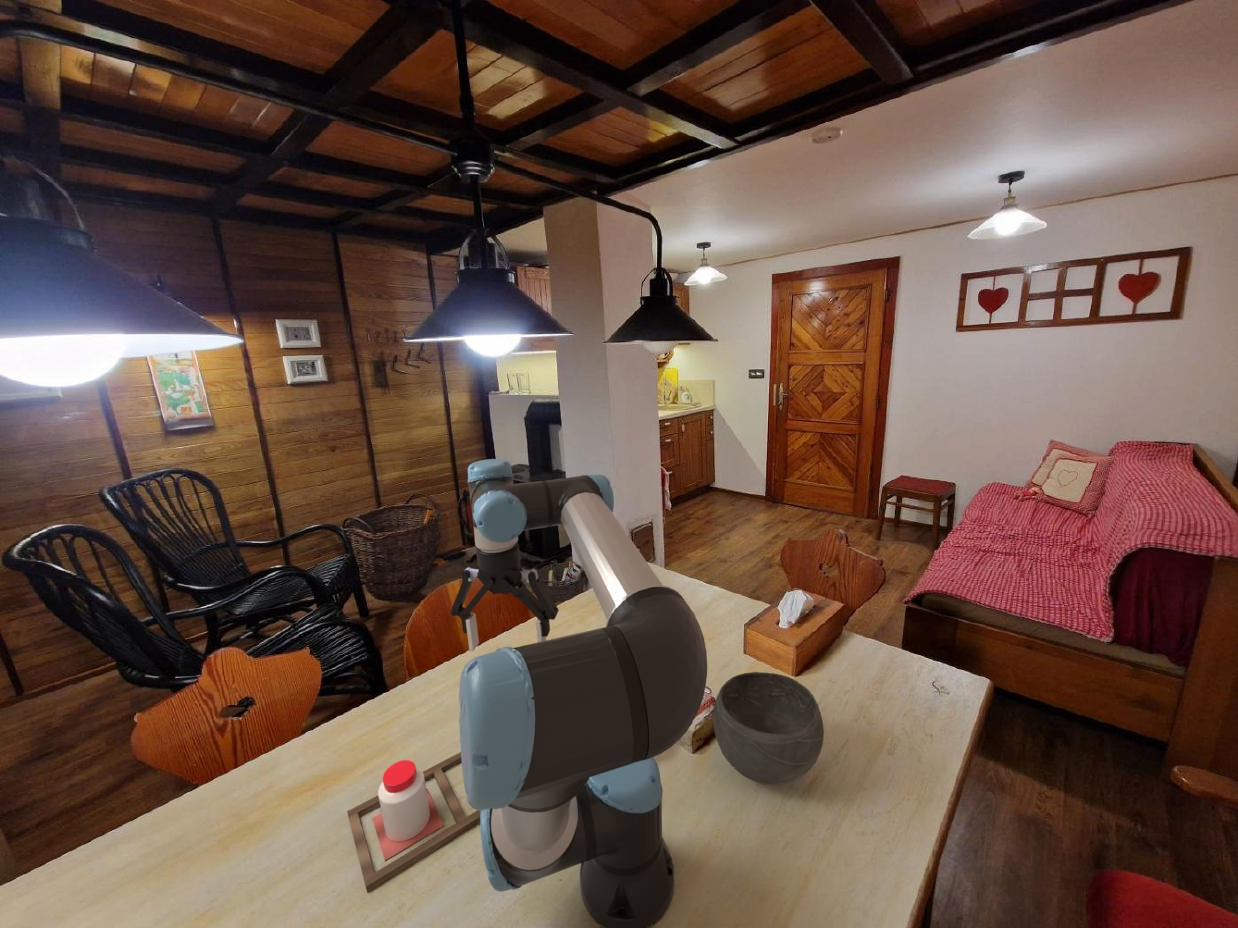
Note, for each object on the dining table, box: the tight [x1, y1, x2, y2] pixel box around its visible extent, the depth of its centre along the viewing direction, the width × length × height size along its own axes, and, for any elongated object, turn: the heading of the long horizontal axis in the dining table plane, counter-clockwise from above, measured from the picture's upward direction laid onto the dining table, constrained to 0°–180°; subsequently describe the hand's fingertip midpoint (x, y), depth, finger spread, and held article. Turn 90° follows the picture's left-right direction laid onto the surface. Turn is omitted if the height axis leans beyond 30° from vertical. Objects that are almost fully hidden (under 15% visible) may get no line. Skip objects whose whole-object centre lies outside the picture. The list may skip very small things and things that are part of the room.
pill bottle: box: [377, 759, 430, 842], centre depth 90 cm, size 8×8×11 cm
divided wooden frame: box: [347, 751, 481, 893], centre depth 95 cm, size 17×32×1 cm, turn 127°
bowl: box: [712, 671, 825, 786], centre depth 99 cm, size 21×21×15 cm
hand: (508, 648), depth 94 cm, fingers open, 13 cm apart
